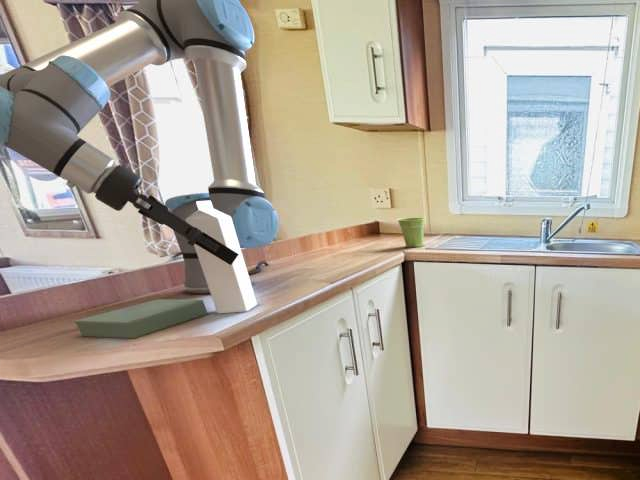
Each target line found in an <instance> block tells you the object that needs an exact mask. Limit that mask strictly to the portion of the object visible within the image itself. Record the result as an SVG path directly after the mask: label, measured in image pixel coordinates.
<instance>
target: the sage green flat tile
mask: <svg viewBox="0 0 640 480" xmlns="http://www.w3.org/2000/svg"><path fill="white" fill-rule="evenodd" d="M205 315H208V310H207V308H206V305H205V302H204V300H203V299H171V298H170V299H168V298H167V299H164V298H161V299H160V298H157V299H153V300H149V301H145V302H142V303H137V304H134V305H133V304H132V305H130V306H126V307H123V308H118V309H115V310H111V311H107V312H102V313H100V314H99V313H98V314H96V315H92V316H88V317H84V318H81V319H77V320H74V322H75V324H76V326H77V328H78V330H79V332H80V334H81V336H82V337H92V338H93V337H94V338H116V339H117V338H118V339H119V338H120V339H136V338H139V337H142V336H145V335H148V334H151V333H154V332H157V331H160V330H163V329H167V328H170V327H173V326H175V325H178V324H181V323H185V322H187V321H190V320H194V319H196V318H199V317H202V316H205Z"/></svg>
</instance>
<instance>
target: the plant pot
mask: <svg viewBox="0 0 640 480" xmlns="http://www.w3.org/2000/svg"><path fill="white" fill-rule="evenodd" d="M425 220H427V219H426V217H405V218H404V217H403V218H397V219H396V221H397V222H398V225H399V227H400V231H401V233H402V236H403V239H404V243H405V246H406V247H407V248H413V247H414V248H419V247H420V248H421V247H423V246H424V231H425V229H424V227H425Z"/></svg>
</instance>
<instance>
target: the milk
mask: <svg viewBox="0 0 640 480" xmlns="http://www.w3.org/2000/svg"><path fill="white" fill-rule="evenodd" d="M196 205H197V208H198V210H197V211H196V212H195V213H193V214H192V215H191V216H189V217H188V218H187V219H186V222H187V223H188V224H190V225H192V226H193V227H196V228H198V229H199V230H201V232H204V233H206V234H207V235H209V236H210V237H212V238H214V239H215V240H217V241H218V242H220V243H222V244H223V245H225V246H226V247H228V248H230V249H231V250H233V251H234V252H236V253H237V254H239V255H238V256H237V258H236V259H235V260H234V262H233V263H232V265H229V264H228V263H226V262H224V261H223V260H221V259H219V258H218V257H216V256H214V255H213V254H211V253H209V252H208V251H206V250H205V249H203V248H201V247H200V246H198V245H196V244H194V247H195V249H196V252H197V255H198V258H199V261H200V264H201V267H202V270H203V273H204V276H205V278H206V281H207V284H208V287H209V290H210V293H209V294H210V296H211V299H212V302H213V305H214V308H215V311H216V313H217V314H227V313H228V314H230V313H243V312H248V311H250V310H251V309H253V308H255V307H256V306H258V302H257V299H256V295H255V292H254V287H253V286H252V284H251V282H252V281H251V282H250V279H251V277H250V275H248V272H249V271H248V269H247V265H246V262H245V258H244V254H243V252H242V248H240V245H239V242H238V238H237V235H236V232H235V228H234V225H233V222H232V218H231V216H229V215H227V214H225V213H222V212H220V211H218V210H216V209H214V208H213V206H212V203H211V201H210V200H209V201H196ZM249 277H250V278H249Z"/></svg>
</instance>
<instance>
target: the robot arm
mask: <svg viewBox="0 0 640 480" xmlns="http://www.w3.org/2000/svg"><path fill="white" fill-rule="evenodd" d="M253 27H254V26H253V24H252V22H251V19H250V16H249V14H248V13H247V11H246V9H245V8H244V6H243V5H242V3H241V2H240V0H140V1H138V2H136V3H135V4H134V5H132V6H130V7H128V8H126V9H124V10H122V11H120V12H118V14H117V16H116V22H114V23H112V24H109V25H107V26H105V27H103V28H101V29H99V30H97V31H93V32H92V33H90V34H87V35H85V36H83V37H81V38H79V39H76V40H74V41H72V42H70V43H68V44H66V45H63V46H61V47H59V48H57V49H54V50H52V51H50V52H48V53H46V54H44V55H42V56H39V57H37V58H35V59H33V60H31V61H28V62H26V63H24V64H22V65H20V67H16V68H13V69H11V70H8V71H7V72H4V73H2V74H0V145H2V146H3V147H5V148H8V149H10V150H11V151H13V152H15V153H17V154H19V155H20V156H22V157H24V158H26V159H27V160H29V161H31V162H33V163H35V164H37V165H38V166H40V168H41V167H42V168H44V169H45V170H46V171H48V172H50V173H52V174H54V175H55V176H57V177H58V178H60V179H62V180H64V181H66V183H65V184H66V186H67V187H68V188H70V189H73V188H75V187H76V188H78V189H79V190H81V191H83V192H85V193H86V194H87V195H88V194H95V195H94V197H95V198H96V200H98V201H99V202H101V203H103V205H106V206H108V207H109V208H111V209H113V210H114V211H118V212H121V211H122V210H123V209H124V207H125V206H126V205H127V204H128V202H129V203H130V204H132V206H133V207H134V208H136V209H137V210H138V211H137V213H139V214H140V215H142V216H143V217H145V218H146V219H150V220H152V221H154V222H156V223H157V224H158V225H161V226H163V225H165V227H168V228H169V229H171V230H172V232H173V234H174V237H175V240H176V242H177V244H178V247H179V251H180V253H181V256H182V259H183V261H184V280H185V281H184V289H185V291H186V293H187V294H195V295H196V294H197V295H200V294H201V295H202V294H204V295H205V294H211V293H210V290H209V287H208V284H207V281H206V278H205V276H204V273H203V270H202V267H201V264H200V261H199V258H198V255H197V252H196V249H195V247H194V244H196V245H198V246H200V247H201V248H203V249H205V250H206V251H208V252H209V253H211V254H213V255H214V256H216V257H218V258H219V259H221V260H223V261H224V262H226V263H228V264H229V265H232V263H233V262H234V260H235V259H236V258H237V256H238V255H239V254H237V253H236V252H234V251H233V250H231V249H230V248H228V247H226V246H225V245H223V244H222V243H220V242H218V241H217V240H215V239H214V238H212V237H210V236H209V235H207V234H206V233H204V232H201V230H199V229H198V228H196V227H193V226H192V225H190V224H188V223H187V222H186V219H187V218H188V217H189V216H191V215H192V214H193V213H195V212H196V211H197V210H198V208H197V205H196V201H209V200H210V201H211V203H212V206H213V208H214V209H216V210H218V211H220V212H222V213H225V214H227V215H229V216H231V218H232V222H233V225H234V228H235V232H236V235H237V238H238V242H239V245H240V248H241V249H249V250H250V249H251V250H252V249H257V248H264V247H267V246H269V245H271V244H272V243H273V241H274V240H275V239H276V238H277V236H278V233H279V229H280V220H279V216H278V215H279V214H278V213H277V210H276V209H275V208H274V206H273V204H272V203H271V202H270V201H269V200H267V199H266V198H265V192H264V191H263V190H262V188H260V187H259V186H258V185H257V183H256V174H255V169H254V161H253V154H252V147H251V142H250V134H249V133H250V132H249V127H248V120H247V118H248V117H247V111H246V104H245V97H244V92H243V85H242V77H241V73H242V72H243V71H244V70H246V69H247V59H246V52H245V51H248V50H250V49H252V46H253V45H254V43H255V31H254V28H253ZM187 58H188V59H189V60H190V61H191V62H192V63H193V64H194V67H195V73H196V79H197V85H198V91H199V92H198V93H199V97H200V102H201V109H202V114H203V122H204V126H205V133H206V138H207V139H206V140H207V144H208V151H209V159H210V163H211V169H212V170H211V171H212V174H213V182H212V183H211V184H209V186H208V187H207V191H208V192H200V193H190V194H183V195H176V196H172V197H170V198H167V199H166V200H165V202H164V204H163V203H162V202H161V200H159V199H158V198H156V197H154V195H152V194H150V195H149V196H147V195H146V194H143V193H140V192H138V191H137V190H138V189H139V188H140V186H141V185H142V183H143V178H142V177H141V176H140V175H138V174H137V173H135V172H133V171H132V170H130V169H129V168H127V167H126V166H124V165H122V164H118V165H117V164H115V163H116V161H115V159H114V158H113V157H111V156H109V155H108V154H107V153H106V152H103V151H102V150H100V149H99V148H97V147H96V146H94V145H92V144H91V143H89V142H88V141H86V140H84V139H83V138H81V137H80V136H79V135H78V134H80V133H81V131H82V130H84V129H85V127H86V126H87V125H88V124H89V123H90V122H91V121H92V120H93V119H94V118H95V117H96V116H97V115H98V114H99V113H100V112H102V111H103V110H104V108H105V106H106V105H107V103H108V102H109V100H110V99H111V90H110V87H112V86H114V85H115V84H118V83H119V82H121V81H122V80H125V79H126V78H127V77H129V76H131V75H133V74H135V73H137V72H138V71H140V70H142V69H144V68H146V67H147V66H149V65H153V66H162V65H165V64H167V63H168V62H170V61H174V60H180V59H187ZM262 265H265V267H267V266H270V265H269V263H268V262H267V261H265V260H261V261H260V262H258V264H257V265H256V266H255V269H253V270H249V271H247V272H248V275H249V278H250V282H251V285H252V284H253V281H252V279H251V277H250V276H251V275H254V274H257V273H260V272H262V268H261V267H262Z"/></svg>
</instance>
